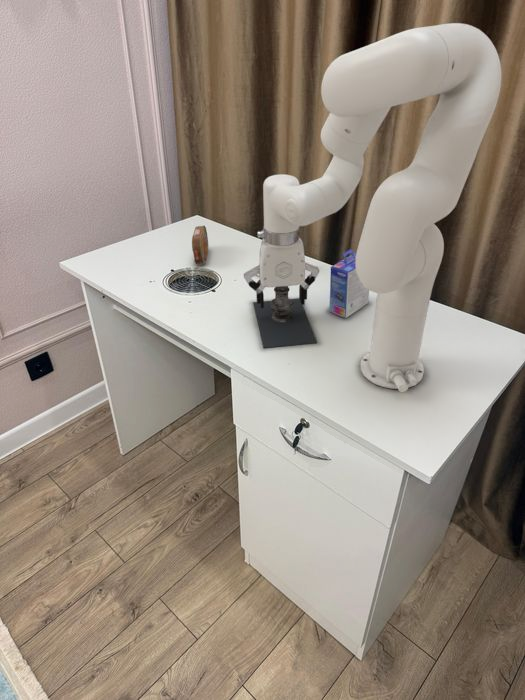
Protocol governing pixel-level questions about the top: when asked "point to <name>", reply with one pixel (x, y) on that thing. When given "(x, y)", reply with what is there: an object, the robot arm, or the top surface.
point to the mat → (284, 327)
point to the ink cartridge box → (346, 287)
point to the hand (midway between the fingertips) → (281, 303)
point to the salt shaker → (281, 305)
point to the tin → (200, 245)
